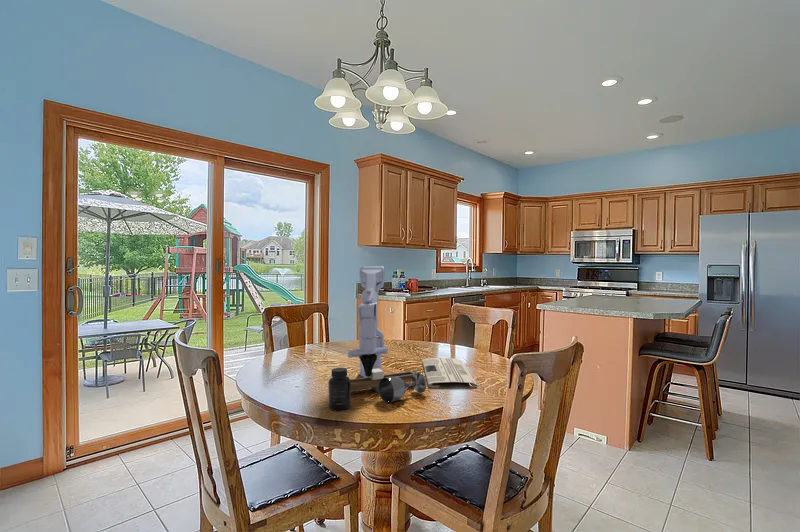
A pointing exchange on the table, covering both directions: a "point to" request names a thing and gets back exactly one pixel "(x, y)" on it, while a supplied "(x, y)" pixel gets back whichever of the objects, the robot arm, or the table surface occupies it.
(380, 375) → the block
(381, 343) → the robot arm
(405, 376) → the beam
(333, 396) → the supplement bottle
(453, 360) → the newspaper
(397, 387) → the wine glass
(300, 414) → the table surface
